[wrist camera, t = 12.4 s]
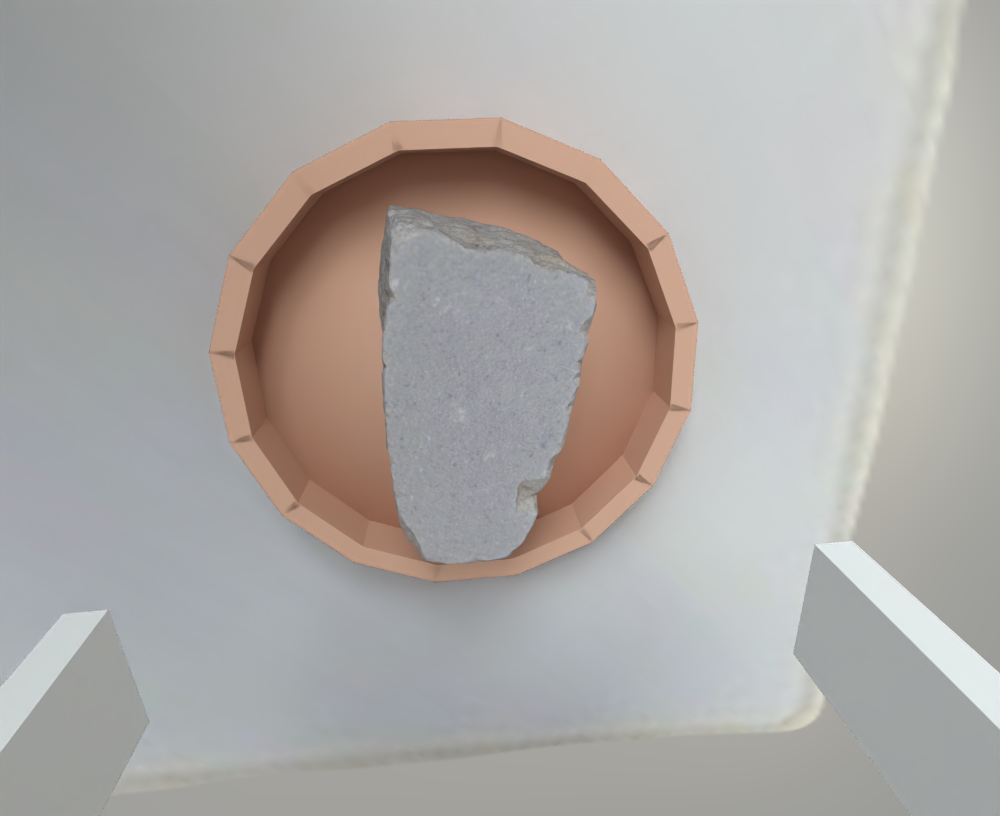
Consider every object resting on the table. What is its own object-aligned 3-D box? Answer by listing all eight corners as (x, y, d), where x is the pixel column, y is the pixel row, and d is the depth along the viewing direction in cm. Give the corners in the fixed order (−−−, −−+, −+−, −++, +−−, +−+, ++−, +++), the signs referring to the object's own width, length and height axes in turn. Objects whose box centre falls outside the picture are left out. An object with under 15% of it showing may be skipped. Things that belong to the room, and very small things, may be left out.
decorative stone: (536, 164, 25) (313, 225, 25) (575, 159, 19) (277, 240, 19) (596, 456, 31) (414, 508, 31) (642, 528, 25) (413, 594, 24)
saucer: (281, 558, 32) (265, 597, 29) (192, 136, 24) (158, 129, 21) (657, 526, 33) (678, 560, 30) (684, 117, 26) (716, 109, 23)
